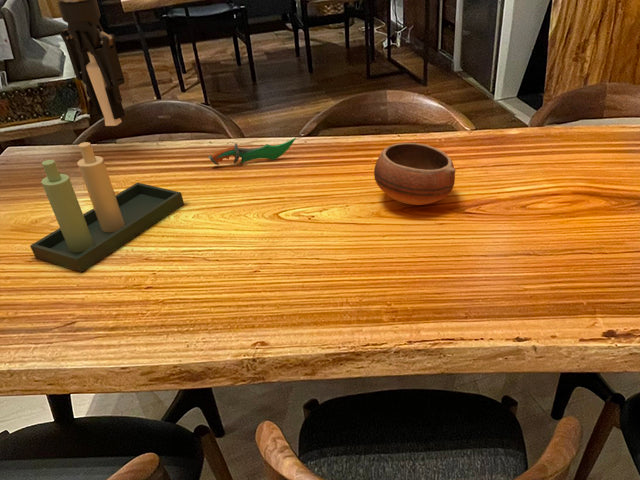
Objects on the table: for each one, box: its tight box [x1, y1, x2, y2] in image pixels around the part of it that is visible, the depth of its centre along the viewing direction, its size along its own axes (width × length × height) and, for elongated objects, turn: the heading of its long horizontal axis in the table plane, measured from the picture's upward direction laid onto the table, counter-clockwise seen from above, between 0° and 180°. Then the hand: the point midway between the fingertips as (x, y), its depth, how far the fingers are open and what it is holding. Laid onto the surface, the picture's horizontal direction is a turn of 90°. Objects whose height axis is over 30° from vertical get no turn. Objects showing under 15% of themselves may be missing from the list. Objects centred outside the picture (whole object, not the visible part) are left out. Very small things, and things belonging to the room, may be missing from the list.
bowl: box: [373, 142, 457, 206], centre depth 121 cm, size 16×16×10 cm
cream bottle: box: [76, 141, 125, 232], centre depth 114 cm, size 4×4×16 cm
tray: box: [29, 182, 185, 273], centre depth 119 cm, size 12×28×3 cm, turn 153°
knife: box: [208, 137, 297, 166], centre depth 139 cm, size 20×2×5 cm, turn 104°
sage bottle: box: [40, 159, 94, 253], centre depth 108 cm, size 4×4×16 cm
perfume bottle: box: [86, 51, 123, 127], centre depth 137 cm, size 5×4×15 cm
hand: (110, 115), depth 141 cm, fingers closed on perfume bottle, 5 cm apart
